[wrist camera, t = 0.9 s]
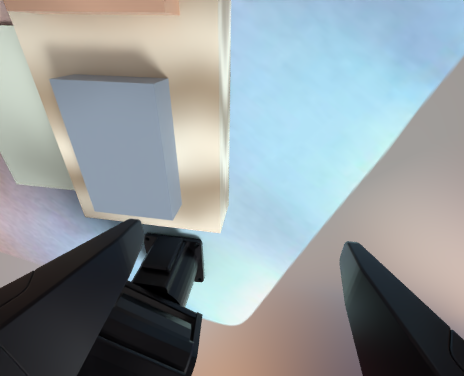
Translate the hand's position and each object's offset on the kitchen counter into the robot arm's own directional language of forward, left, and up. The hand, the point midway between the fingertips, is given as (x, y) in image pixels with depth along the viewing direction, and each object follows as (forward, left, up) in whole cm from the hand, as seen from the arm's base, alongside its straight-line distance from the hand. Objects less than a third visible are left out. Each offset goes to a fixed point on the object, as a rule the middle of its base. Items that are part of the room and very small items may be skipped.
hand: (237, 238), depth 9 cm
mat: (0, +20, -12) cm, 23 cm away
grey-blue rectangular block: (0, +8, -8) cm, 12 cm away
